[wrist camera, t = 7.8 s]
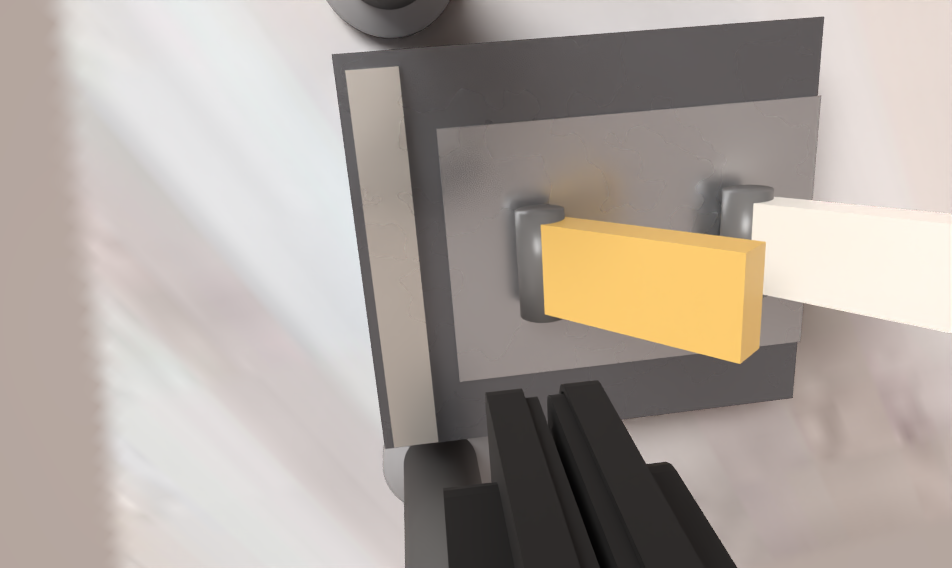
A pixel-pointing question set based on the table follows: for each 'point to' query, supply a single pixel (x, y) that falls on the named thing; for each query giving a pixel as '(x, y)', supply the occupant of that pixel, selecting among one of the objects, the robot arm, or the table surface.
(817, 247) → the paddle white
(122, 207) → the table surface
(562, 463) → the robot arm
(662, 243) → the paddle amber
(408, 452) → the post far
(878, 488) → the table surface
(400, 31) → the post near
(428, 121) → the breaker panel
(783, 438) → the table surface
